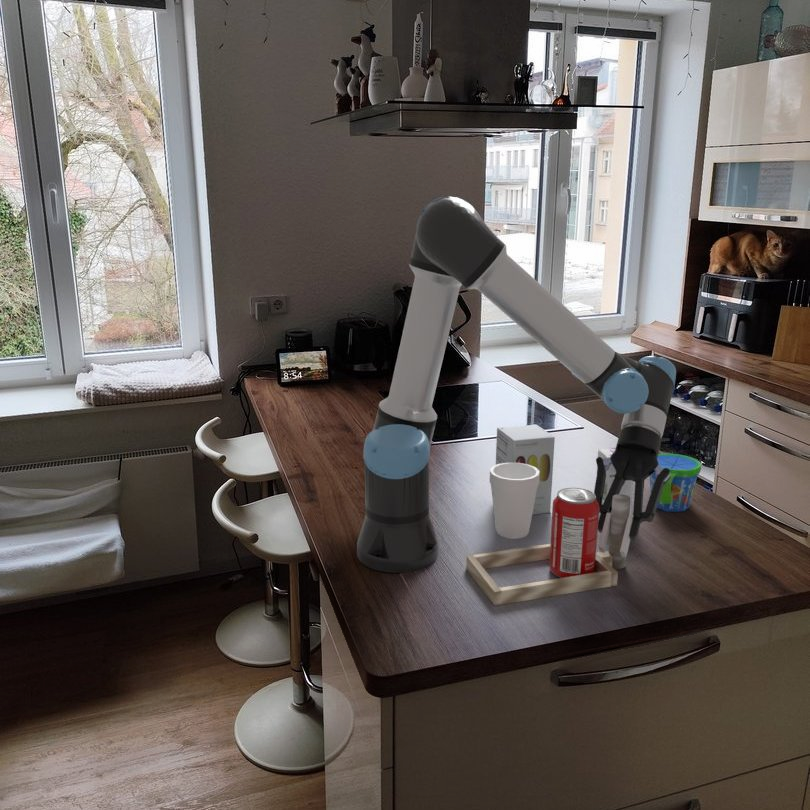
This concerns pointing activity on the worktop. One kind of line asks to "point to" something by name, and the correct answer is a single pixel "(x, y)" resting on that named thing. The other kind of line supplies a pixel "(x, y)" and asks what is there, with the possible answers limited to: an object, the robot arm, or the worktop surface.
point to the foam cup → (513, 497)
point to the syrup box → (610, 475)
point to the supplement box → (529, 457)
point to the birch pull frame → (599, 579)
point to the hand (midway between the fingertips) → (612, 551)
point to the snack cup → (677, 481)
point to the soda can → (574, 532)
